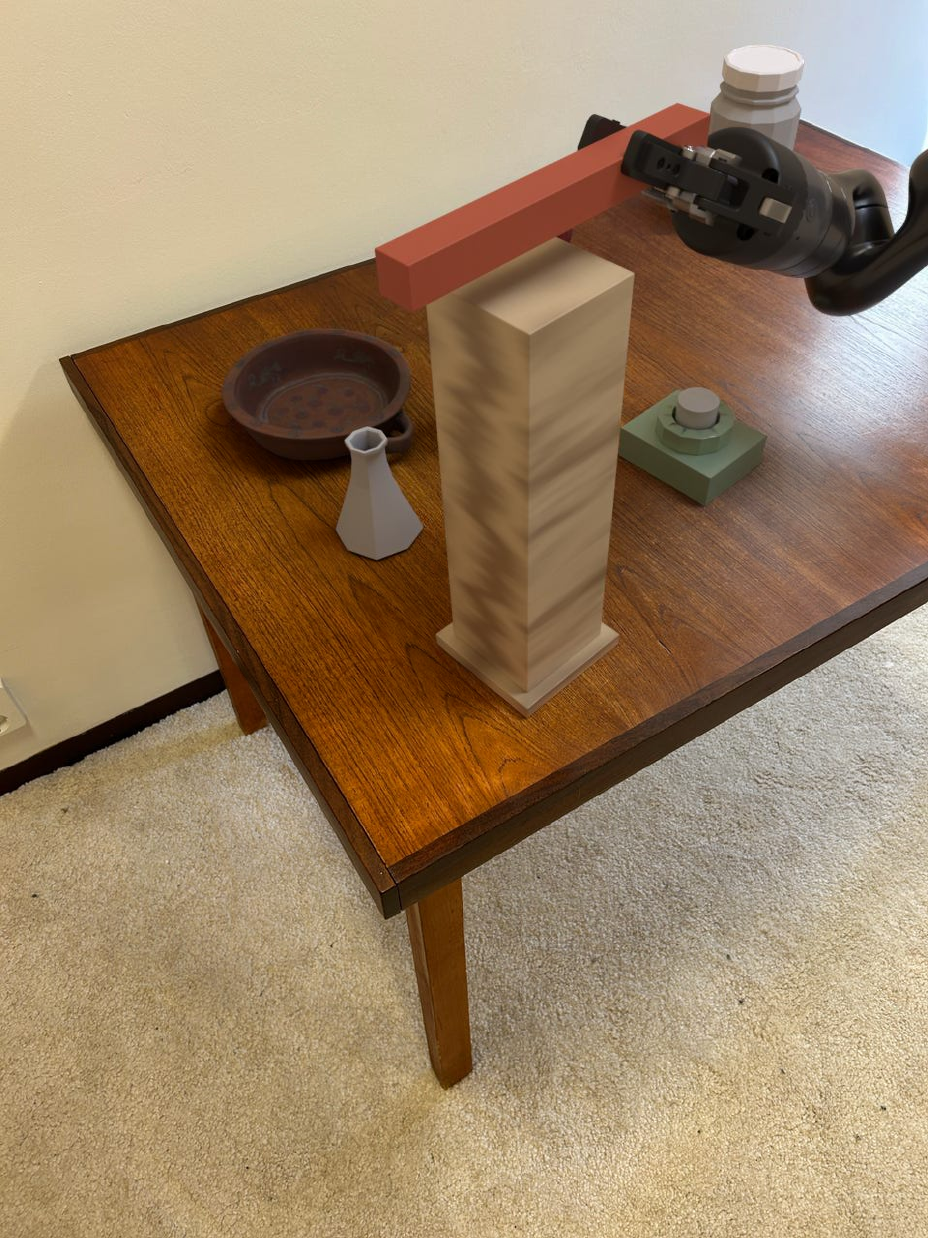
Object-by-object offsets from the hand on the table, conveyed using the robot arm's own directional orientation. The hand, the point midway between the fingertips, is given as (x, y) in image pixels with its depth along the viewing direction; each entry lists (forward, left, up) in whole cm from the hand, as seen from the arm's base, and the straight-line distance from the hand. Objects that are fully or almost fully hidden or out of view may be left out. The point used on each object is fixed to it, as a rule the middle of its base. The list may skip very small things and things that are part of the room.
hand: (609, 143), depth 50 cm
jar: (+29, -59, -36) cm, 75 cm away
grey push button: (+5, -20, -31) cm, 38 cm away
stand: (0, +6, -36) cm, 36 cm away
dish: (+34, 0, -36) cm, 50 cm away
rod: (0, +4, -3) cm, 5 cm away
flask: (+18, +6, -36) cm, 41 cm away
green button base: (+5, -20, -36) cm, 41 cm away
